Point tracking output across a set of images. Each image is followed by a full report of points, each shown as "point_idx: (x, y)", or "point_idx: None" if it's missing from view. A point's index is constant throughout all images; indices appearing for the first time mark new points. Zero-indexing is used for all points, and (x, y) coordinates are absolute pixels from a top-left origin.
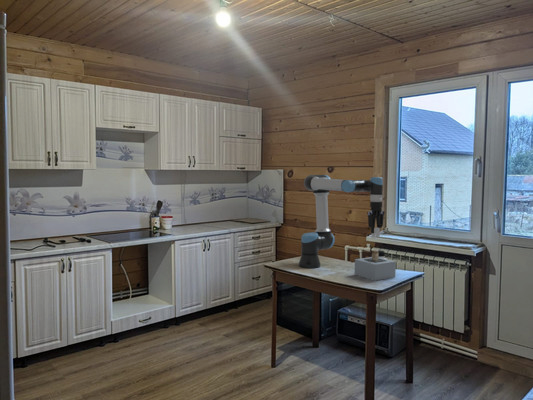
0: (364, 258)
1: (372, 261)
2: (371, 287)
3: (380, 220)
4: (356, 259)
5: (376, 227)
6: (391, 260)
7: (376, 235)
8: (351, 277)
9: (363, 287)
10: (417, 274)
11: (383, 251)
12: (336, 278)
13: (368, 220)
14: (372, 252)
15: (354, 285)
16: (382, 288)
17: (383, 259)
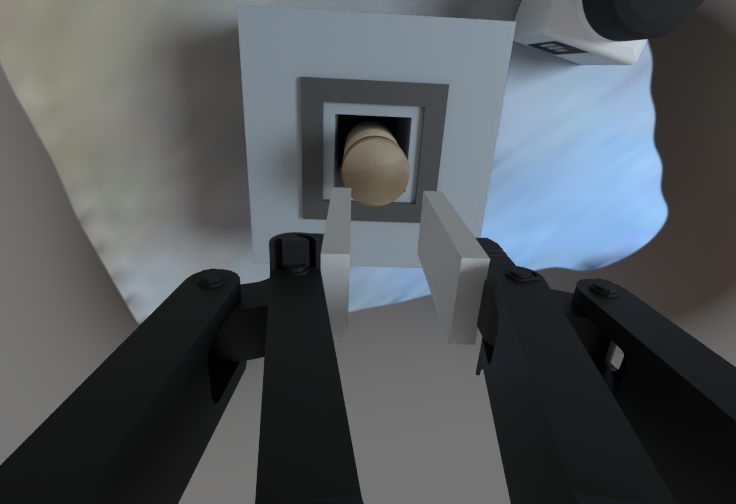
0: (355, 30)
1: (302, 189)
2: (157, 302)
3: (668, 433)
4: (249, 19)
5: (482, 261)
6: (481, 229)
7: (428, 220)
8: (190, 74)
9: (116, 282)
10: (609, 255)
11: (666, 24)
12: (67, 31)
13: (74, 403)
14: (342, 162)
15: (90, 230)
16: None
17: (463, 168)
